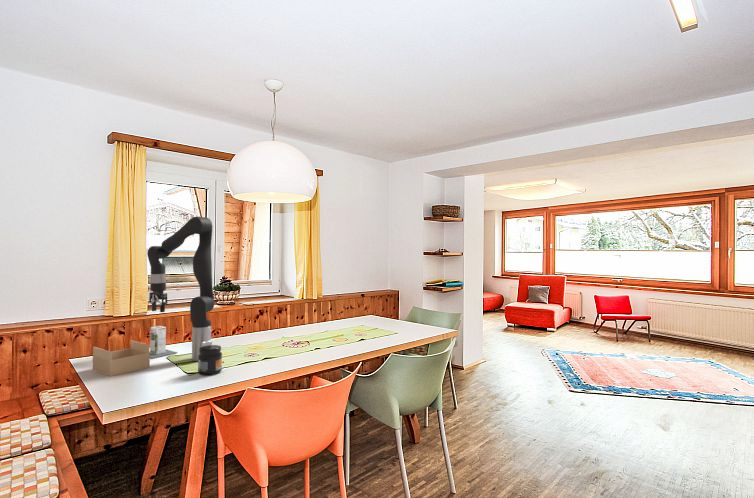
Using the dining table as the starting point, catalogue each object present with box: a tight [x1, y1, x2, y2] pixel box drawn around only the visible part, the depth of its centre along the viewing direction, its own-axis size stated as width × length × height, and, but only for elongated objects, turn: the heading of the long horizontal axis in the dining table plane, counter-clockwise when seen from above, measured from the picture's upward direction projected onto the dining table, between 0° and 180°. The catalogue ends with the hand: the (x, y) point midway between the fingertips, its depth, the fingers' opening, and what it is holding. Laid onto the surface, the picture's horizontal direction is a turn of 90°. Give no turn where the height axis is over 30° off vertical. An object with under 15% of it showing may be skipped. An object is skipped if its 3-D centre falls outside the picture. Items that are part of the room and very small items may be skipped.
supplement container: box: [197, 344, 223, 376], centre depth 188 cm, size 10×10×12 cm
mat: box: [149, 348, 178, 360], centre depth 220 cm, size 14×14×1 cm
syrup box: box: [149, 325, 167, 355], centre depth 220 cm, size 6×6×14 cm
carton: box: [92, 339, 151, 377], centre depth 194 cm, size 18×18×11 cm
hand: (158, 311), depth 220 cm, fingers open, 8 cm apart
